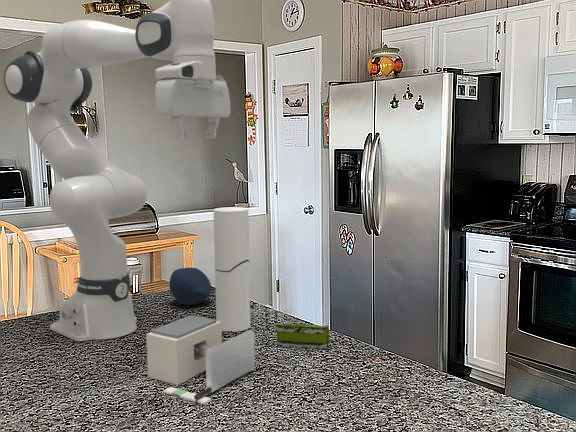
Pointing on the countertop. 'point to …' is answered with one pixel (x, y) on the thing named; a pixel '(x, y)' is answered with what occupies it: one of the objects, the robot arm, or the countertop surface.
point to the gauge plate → (226, 360)
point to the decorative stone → (190, 286)
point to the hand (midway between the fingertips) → (196, 138)
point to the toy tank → (302, 335)
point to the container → (232, 268)
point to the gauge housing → (181, 352)
